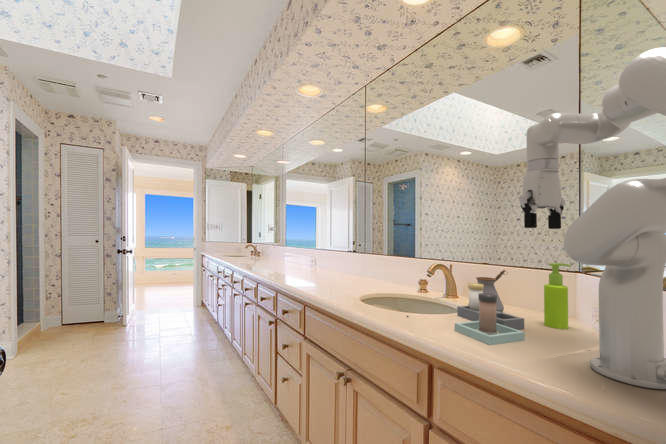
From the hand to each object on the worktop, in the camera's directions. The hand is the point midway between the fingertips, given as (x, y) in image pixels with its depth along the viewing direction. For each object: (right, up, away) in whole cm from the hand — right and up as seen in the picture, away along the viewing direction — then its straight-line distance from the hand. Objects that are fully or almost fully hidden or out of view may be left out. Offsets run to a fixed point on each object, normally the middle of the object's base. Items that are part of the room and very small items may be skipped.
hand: (542, 228), depth 87 cm
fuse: (-12, -30, +15) cm, 35 cm away
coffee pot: (0, -32, +27) cm, 41 cm away
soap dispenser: (+9, -31, +7) cm, 33 cm away
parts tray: (-17, -30, -3) cm, 34 cm away
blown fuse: (-17, -29, -3) cm, 34 cm away
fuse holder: (-10, -31, +10) cm, 34 cm away
